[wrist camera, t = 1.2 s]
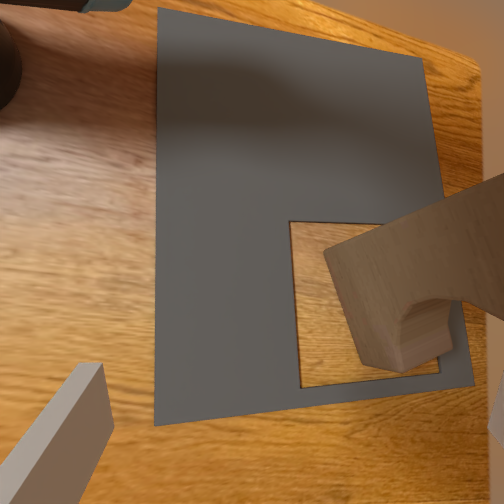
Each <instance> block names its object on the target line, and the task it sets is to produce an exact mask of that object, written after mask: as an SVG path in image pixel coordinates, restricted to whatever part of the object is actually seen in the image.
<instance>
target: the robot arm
mask: <svg viewBox="0 0 504 504" xmlns="http://www.w3.org/2000/svg"><path fill="white" fill-rule="evenodd" d="M131 2H132V0H0V3H1V4H11V5H20V6H30V7H39V8H49V9H58V10H68V11H77V12H78V13H87V12H89V11H108V12H117V11H121V10H123V9H125V8H127V7H128V6H129V5H130V3H131ZM21 75H22V63H21V58H20V54H19V51H18V49H17V47H16V45H15V43H14V41H13V39H12V37H11V35H10V33H9V31H8V30H7V28H6V27H5V25H4V24H3V22H2V21H1V20H0V110H1V109H2V108H3V107H4V106H5V105H6V104H7V103H8V102H9V101H10V100H11V99H12V97H13V96H14V94H15V93H16V91H17V89H18V86H19V84H20V80H21ZM487 428H488V429H489V431H490V432H491V433H492V435H493V436H494V437H495V438H496V440H497V441H498V442H499V443H500V445H501V446H502V447H503V448H504V372H503V375H502V379H501V382H500V385H499V389H498V393H497V396H496V399H495V402H494V406H493V409H492V413H491V416H490V419H489V423H488V426H487ZM113 430H114V422H113V417H112V412H111V406H110V401H109V396H108V390H107V385H106V380H105V374H104V369H103V363H79V364H78V365H77V366H76V367H75V369H74V370H73V371H72V373H71V374H70V375H69V377H68V378H67V379H66V381H65V382H64V383H63V384H62V386H61V387H60V388H59V390H58V391H57V392H56V394H55V395H54V396H53V398H52V399H51V400H50V402H49V403H48V404H47V405H46V407H45V408H44V409H43V411H42V412H41V413H40V415H39V416H38V417H37V419H36V420H35V421H34V422H33V424H32V425H31V426H30V428H29V429H28V430H27V432H26V433H25V434H24V436H23V437H22V438H21V439H20V441H19V442H18V443H17V445H16V446H15V447H14V449H13V450H12V451H11V453H10V454H9V455H8V456H7V458H6V459H5V460H4V462H3V463H2V464H1V466H0V504H78V503H79V501H80V499H81V497H82V495H83V493H84V491H85V488H86V486H87V484H88V482H89V480H90V478H91V476H92V474H93V472H94V469H95V467H96V465H97V463H98V461H99V459H100V457H101V455H102V453H103V451H104V448H105V446H106V444H107V442H108V440H109V438H110V436H111V434H112V432H113Z"/></svg>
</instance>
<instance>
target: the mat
mask: <svg viewBox="0 0 504 504" xmlns="http://www.w3.org/2000/svg"><path fill="white" fill-rule="evenodd" d="M442 199H444V192H443V186H442V180H441V173H440V167H439V161H438V155H437V149H436V143H435V137H434V130H433V124H432V118H431V112H430V106H429V100H428V94H427V87H426V81H425V75H424V69H423V63H422V58H418V57H413V56H408V55H403V54H398V53H393V52H387V51H382V50H377V49H372V48H367V47H362V46H356V45H351V44H346V43H341V42H336V41H331V40H326V39H320V38H315V37H310V36H305V35H300V34H295V33H290V32H284V31H279V30H274V29H269V28H264V27H259V26H253V25H248V24H243V23H238V22H233V21H228V20H223V19H217V18H212V17H207V16H202V15H197V14H192V13H187V12H181V11H176V10H171V9H166V8H161V7H158V33H157V155H156V277H155V399H154V426H161V425H169V424H177V423H185V422H193V421H200V420H208V419H216V418H224V417H232V416H240V415H248V414H256V413H263V412H271V411H279V410H287V409H295V408H303V407H311V406H318V405H326V404H334V403H342V402H350V401H358V400H366V399H374V398H381V397H389V396H397V395H405V394H413V393H421V392H429V391H436V390H444V389H452V388H460V387H468V386H475V383H474V376H473V370H472V364H471V358H470V352H469V346H468V340H467V333H466V327H465V321H464V315H463V309H462V303H461V301H457V300H452V301H451V306H450V312H449V318H448V326H449V331H450V335H451V340H452V344H453V349H452V350H450V351H448V352H446V353H444V354H442V355H440V356H438V364H439V371H440V373H433V374H424V375H415V376H406V377H397V378H388V379H379V380H370V381H361V382H352V383H342V384H333V385H324V386H315V387H306V388H300V380H299V365H298V351H297V336H296V322H295V307H294V293H293V279H292V264H291V250H290V235H289V221H291V222H321V223H351V224H381V225H384V224H386V223H388V222H391V221H393V220H395V219H398V218H400V217H402V216H405V215H407V214H409V213H412V212H414V211H416V210H419V209H421V208H423V207H426V206H428V205H430V204H433V203H435V202H437V201H440V200H442Z"/></svg>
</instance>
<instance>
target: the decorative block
mask: <svg viewBox="0 0 504 504" xmlns="http://www.w3.org/2000/svg"><path fill="white" fill-rule="evenodd" d="M324 257H325V260H326V262H327V265H328V268H329V271H330V274H331V277H332V280H333V282H334V285H335V288H336V291H337V294H338V297H339V300H340V303H341V305H342V308H343V311H344V314H345V317H346V320H347V323H348V325H349V328H350V331H351V334H352V337H353V340H354V343H355V346H356V348H357V351H358V354H359V357H360V360H361V363H362V364H363V365H365V366H370V367H375V368H379V369H384V370H389V371H394V372H398V373H405V372H407V371H409V370H411V369H413V368H415V367H417V366H419V365H421V364H423V363H425V362H427V361H429V360H431V359H434V358H436V357H438V356H440V355H442V354H444V353H446V352H448V351H450V350H452V349H453V344H452V340H451V335H450V331H449V326H448V318H449V312H450V306H451V301H452V300H457V301H466V302H468V303H470V304H472V305H474V306H476V307H478V308H480V309H482V310H484V311H486V312H487V313H489V314H491V315H493V316H496V317H497V318H499V319H501V320H503V321H504V173H503V174H500V175H498V176H496V177H493V178H491V179H489V180H486V181H484V182H482V183H479V184H477V185H475V186H472V187H470V188H468V189H465V190H463V191H461V192H458V193H456V194H454V195H451V196H449V197H447V198H444V199H442V200H440V201H437V202H435V203H433V204H430V205H428V206H426V207H423V208H421V209H419V210H416V211H414V212H412V213H409V214H407V215H405V216H402V217H400V218H398V219H395V220H393V221H391V222H388V223H386V224H384V225H381V226H379V227H377V228H375V229H372V230H370V231H368V232H365V233H363V234H361V235H358V236H356V237H354V238H351V239H349V240H347V241H344V242H342V243H340V244H337V245H335V246H333V247H330V248H328V249H326V250H325V251H324Z"/></svg>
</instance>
